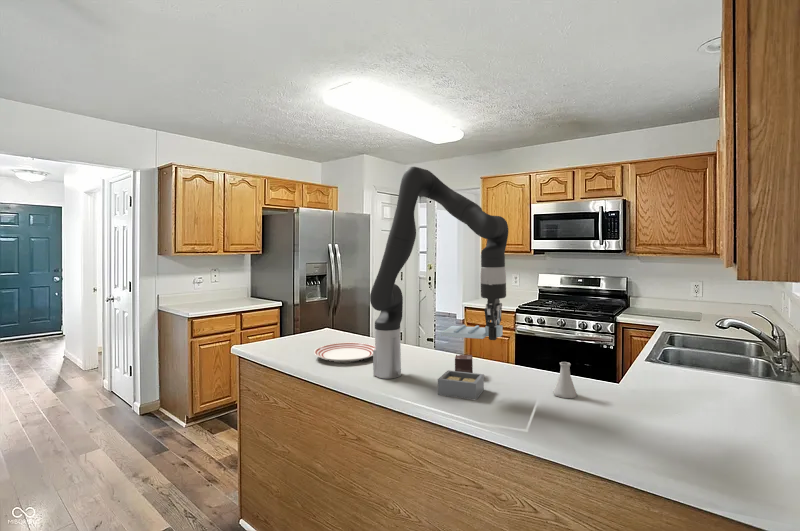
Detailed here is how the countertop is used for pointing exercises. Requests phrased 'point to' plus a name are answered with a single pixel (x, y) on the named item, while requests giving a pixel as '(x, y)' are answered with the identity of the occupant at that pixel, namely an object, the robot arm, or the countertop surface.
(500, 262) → the robot arm
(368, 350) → the dinner plate
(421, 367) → the countertop surface
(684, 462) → the countertop surface
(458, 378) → the brass block
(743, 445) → the countertop surface
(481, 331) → the lid
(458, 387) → the tub
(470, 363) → the box
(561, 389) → the flask
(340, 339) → the countertop surface
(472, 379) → the brass block
